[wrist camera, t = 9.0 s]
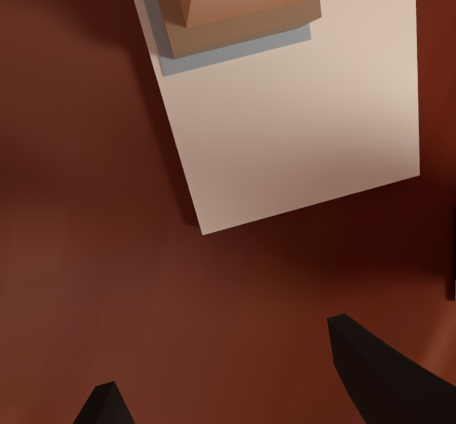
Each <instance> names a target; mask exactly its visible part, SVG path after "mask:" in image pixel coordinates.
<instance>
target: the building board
mask: <svg viewBox="0 0 456 424" xmlns="http://www.w3.org/2000/svg"><path fill="white" fill-rule="evenodd" d="M134 2H135V6H136V9H137V13H138V16H139V20H140V23H141V26H142V30H143V33H144V37H145V40H146V43H147V47H148V50H149V54H150V57H151V61H152V64H153V67H154V71H155V74H156V78H157V81H158V84H159V88H160V91H161V95H162V98H163V102H164V105H165V108H166V112H167V115H168V119H169V122H170V125H171V129H172V132H173V136H174V139H175V143H176V146H177V149H178V153H179V156H180V160H181V163H182V166H183V170H184V173H185V177H186V180H187V184H188V187H189V190H190V194H191V197H192V201H193V204H194V207H195V211H196V214H197V218H198V221H199V225H200V228H201V231H202V235H205V234H209V233H212V232H216V231H219V230H223V229H227V228H230V227H234V226H238V225H241V224H245V223H248V222H252V221H256V220H259V219H263V218H267V217H270V216H274V215H277V214H281V213H285V212H288V211H292V210H295V209H299V208H303V207H306V206H310V205H314V204H317V203H321V202H324V201H328V200H332V199H335V198H339V197H343V196H346V195H350V194H353V193H357V192H361V191H364V190H368V189H371V188H375V187H379V186H382V185H386V184H390V183H393V182H397V181H400V180H404V179H408V178H411V177H415V176H419V175H420V168H419V125H418V82H417V39H416V0H301V1H299V2H297V3H292V4H288V5H284V6H279V7H275V8H270V9H266V10H262V11H257V12H253V13H249V14H244V15H240V16H236V17H231V18H227V19H223V20H218V21H214V22H210V23H205V24H201V25H197V26H192V27H188V28H186V23H185V19H184V15H183V11H182V7H181V2H180V0H134Z"/></svg>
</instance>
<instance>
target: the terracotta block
mask: <svg viewBox="0 0 456 424" xmlns="http://www.w3.org/2000/svg"><path fill="white" fill-rule="evenodd" d="M299 1H301V0H180V2H181V7H182V11H183V15H184V19H185V23H186V28H188V27H192V26H197V25H201V24H205V23H210V22H214V21H218V20H223V19H227V18H231V17H236V16H240V15H244V14H249V13H253V12H257V11H262V10H266V9H270V8H275V7H279V6H284V5H288V4H292V3H297V2H299Z"/></svg>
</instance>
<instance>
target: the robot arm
mask: <svg viewBox="0 0 456 424" xmlns="http://www.w3.org/2000/svg"><path fill="white" fill-rule="evenodd" d="M455 301H456V282H455ZM327 321H328V328H329V334H330V341H331V347H332V354H333V360H334V365H335V367H336V369H337V371H338V374H339V376H340V378H341V380H342V382H343V384H344V386H345V388H346V390H347V392H348V394H349V396H350V398H351V399H352V401H353V403H354V404H355V406H356V407H357V409H358V411H359V412H360V414H361V416H362V417H363V419H364V421H365V422H366V424H456V386H454V385H452V384H450V383H448V382H447V381H445V380H443V379H441V378H440V377H438V376H436V375H434V374H433V373H431V372H429V371H428V370H426V369H425V368H423V367H421V366H420V365H418V364H416V363H415V362H413V361H412V360H410V359H409V358H407V357H405V356H404V355H402V354H401V353H399V352H398V351H396V350H395V349H393V348H392V347H391V346H389V345H388V344H386V343H385V342H383V341H382V340H380V339H379V338H378V337H376V336H375V335H373V334H372V333H371V332H369V331H368V330H367V329H365V328H364V327H363V326H361V325H360V324H359V323H357V322H356V321H355V320H353V319H352V318H351V317H349V316H348V315H346V314H345V313H344V314H341V315H338V316H334V317H331V318H327ZM73 424H135V422H134V420H133V418H132V416H131V414H130V412H129V410H128V408H127V406H126V404H125V402H124V400H123V398H122V396H121V394H120V392H119V390H118V388H117V386H116V384H115V382H114V381H113V382H109V383H106V384H102V385H99V386H96V387H95V388H94V390H93V392H92V393H91V395H90V396H89V398H88V400H87V401H86V403H85V404H84V406H83V408H82V409H81V411H80V413H79V414H78V416H77V418H76V419H75V421H74V423H73Z"/></svg>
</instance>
